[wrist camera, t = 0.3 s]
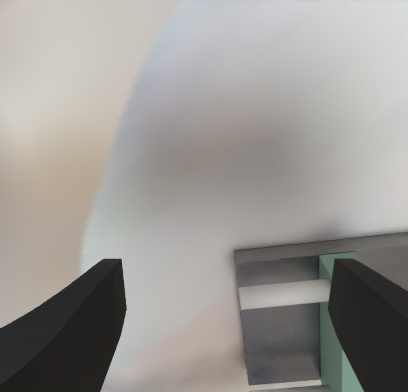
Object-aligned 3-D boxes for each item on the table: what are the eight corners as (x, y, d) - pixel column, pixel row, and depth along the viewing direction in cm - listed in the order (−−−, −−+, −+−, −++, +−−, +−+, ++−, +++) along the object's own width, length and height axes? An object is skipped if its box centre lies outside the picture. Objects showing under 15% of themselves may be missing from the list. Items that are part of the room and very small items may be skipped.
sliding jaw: (349, 378, 24) (375, 435, 21) (249, 386, 25) (256, 444, 21) (353, 251, 21) (384, 293, 17) (235, 264, 21) (241, 307, 17)
